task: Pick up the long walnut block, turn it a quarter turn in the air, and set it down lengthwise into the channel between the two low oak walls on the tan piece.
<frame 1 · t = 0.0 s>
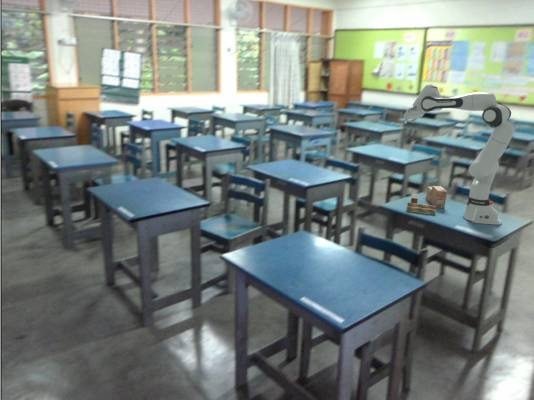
hand: (408, 122, 306), 54 cm above the table, tool tilted 30°, fingers open, 8 cm apart
walnut block: (413, 204, 309), on the table
tan piece: (420, 210, 295), on the table
stack of blocks: (434, 203, 312), on the table
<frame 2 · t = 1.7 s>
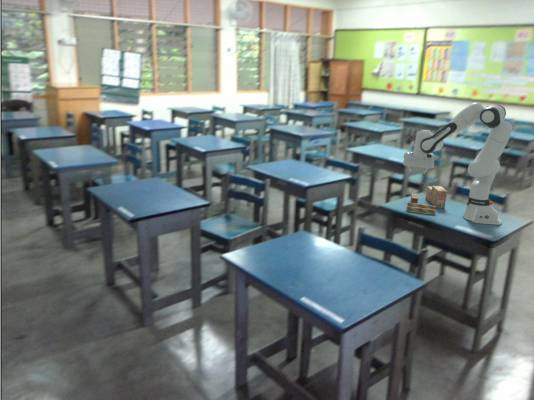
hand: (417, 173, 302), 22 cm above the table, tool pointing down, fingers open, 8 cm apart
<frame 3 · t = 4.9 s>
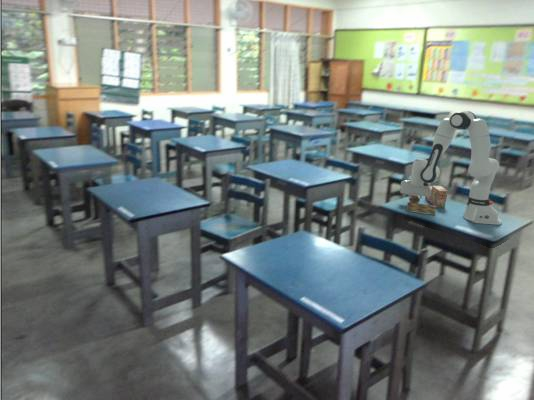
hand: (414, 200, 308), 2 cm above the table, tool pointing down, fingers closed on walnut block, 4 cm apart
walnut block: (413, 203, 309), on the table, touching gripper
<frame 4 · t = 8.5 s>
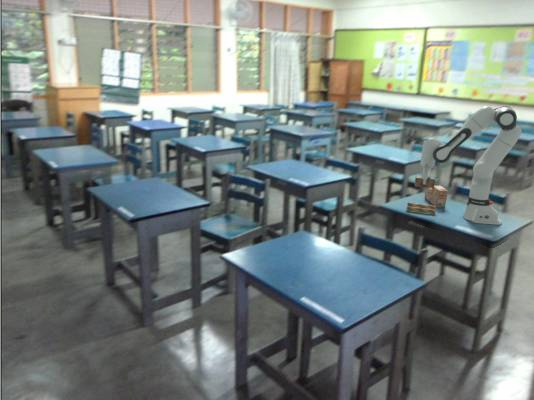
hand: (424, 183, 290), 19 cm above the table, tool pointing down, fingers closed on walnut block, 4 cm apart
walnut block: (424, 186, 291), point 17 cm above the table, touching gripper
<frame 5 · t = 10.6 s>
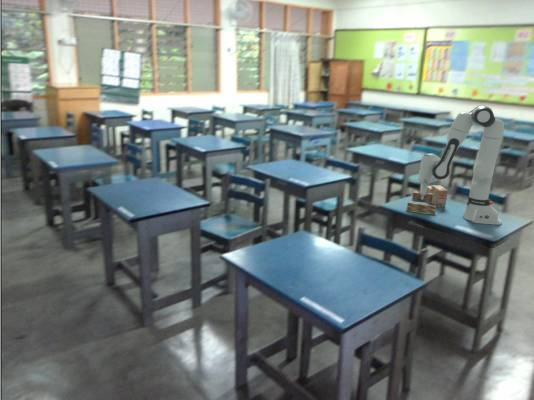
hand: (422, 198, 292), 9 cm above the table, tool pointing down, fingers closed on walnut block, 4 cm apart
walnut block: (421, 201, 293), point 6 cm above the table, touching gripper
when the fingers open (4 cm above the table, at t = 12.3 s): walnut block drops 1 cm, resting on tan piece.
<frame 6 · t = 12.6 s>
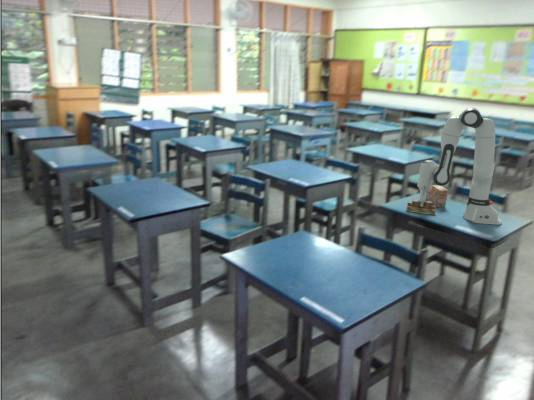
hand: (421, 204, 294), 4 cm above the table, tool pointing down, fingers open, 7 cm apart
walnut block: (420, 209, 295), point 1 cm above the table, touching tan piece
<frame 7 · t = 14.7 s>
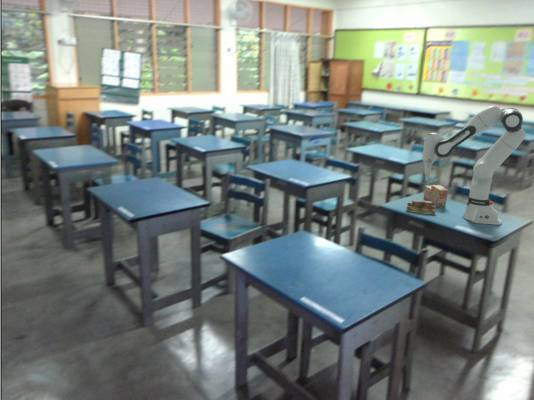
hand: (426, 178, 289), 22 cm above the table, tool pointing down, fingers open, 8 cm apart
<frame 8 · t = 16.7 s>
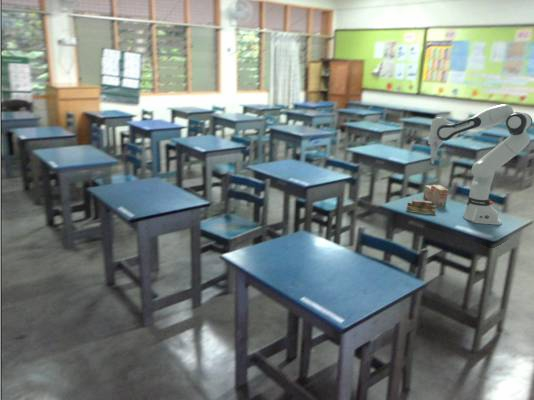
hand: (432, 162, 296), 31 cm above the table, tool pointing down, fingers open, 8 cm apart
at the end: walnut block 0.0 cm off-centre on the tan piece, point 0.6 cm above the tan piece's base; walnut block tilted 0°; the gripper is holding nothing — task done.
